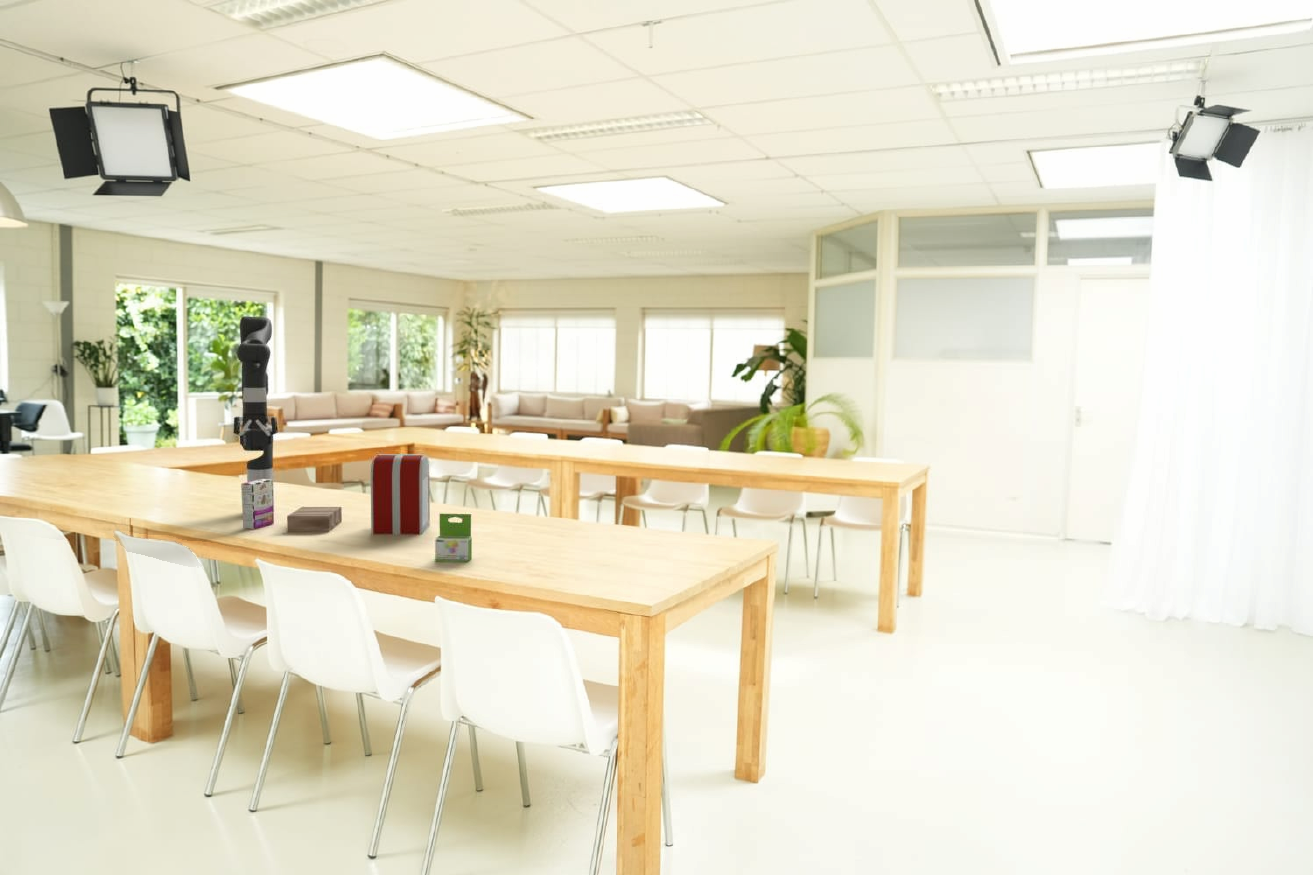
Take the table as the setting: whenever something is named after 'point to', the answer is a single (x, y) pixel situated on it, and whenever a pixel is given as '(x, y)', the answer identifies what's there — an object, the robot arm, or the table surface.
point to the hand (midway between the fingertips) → (256, 446)
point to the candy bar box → (257, 503)
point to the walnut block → (314, 519)
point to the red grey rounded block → (400, 494)
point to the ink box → (454, 539)
